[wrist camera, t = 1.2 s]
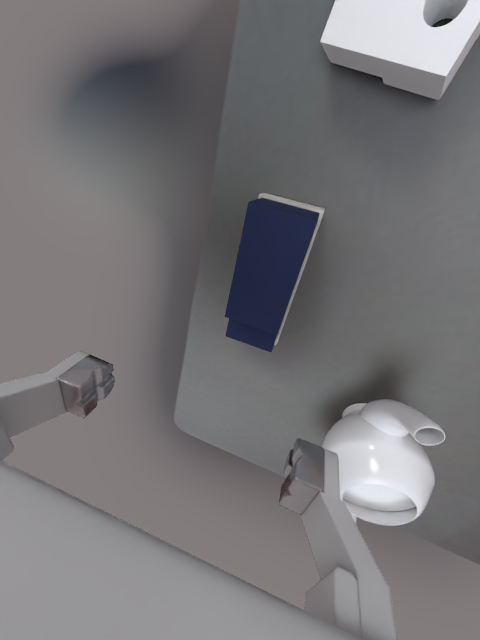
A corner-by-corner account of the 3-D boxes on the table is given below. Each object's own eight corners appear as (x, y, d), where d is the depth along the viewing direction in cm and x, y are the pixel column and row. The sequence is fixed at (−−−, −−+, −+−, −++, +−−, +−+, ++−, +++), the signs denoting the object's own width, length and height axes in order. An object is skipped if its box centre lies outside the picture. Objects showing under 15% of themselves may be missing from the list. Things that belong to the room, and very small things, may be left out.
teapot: (303, 456, 36) (295, 534, 28) (349, 336, 25) (358, 406, 18) (376, 480, 34) (391, 572, 26) (459, 362, 23) (523, 454, 16)
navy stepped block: (263, 192, 22) (244, 197, 17) (325, 208, 21) (323, 218, 16) (233, 320, 28) (214, 350, 24) (279, 336, 28) (268, 370, 23)
